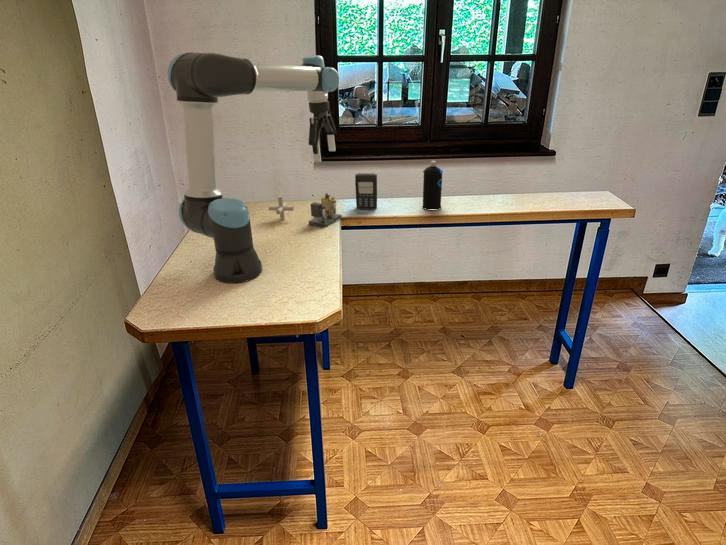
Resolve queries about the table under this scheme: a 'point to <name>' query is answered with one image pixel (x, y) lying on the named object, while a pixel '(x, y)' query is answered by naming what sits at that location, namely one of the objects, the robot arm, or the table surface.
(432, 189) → the aerosol can
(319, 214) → the bolt plate
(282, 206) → the pipe connector
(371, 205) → the card reader
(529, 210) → the table surface
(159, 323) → the table surface
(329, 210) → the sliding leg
